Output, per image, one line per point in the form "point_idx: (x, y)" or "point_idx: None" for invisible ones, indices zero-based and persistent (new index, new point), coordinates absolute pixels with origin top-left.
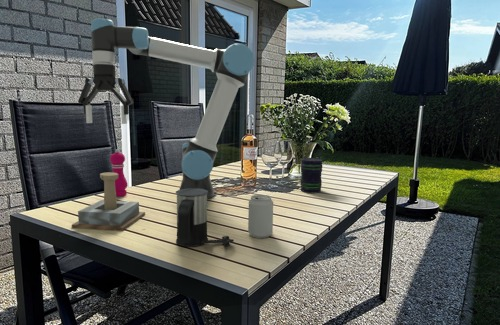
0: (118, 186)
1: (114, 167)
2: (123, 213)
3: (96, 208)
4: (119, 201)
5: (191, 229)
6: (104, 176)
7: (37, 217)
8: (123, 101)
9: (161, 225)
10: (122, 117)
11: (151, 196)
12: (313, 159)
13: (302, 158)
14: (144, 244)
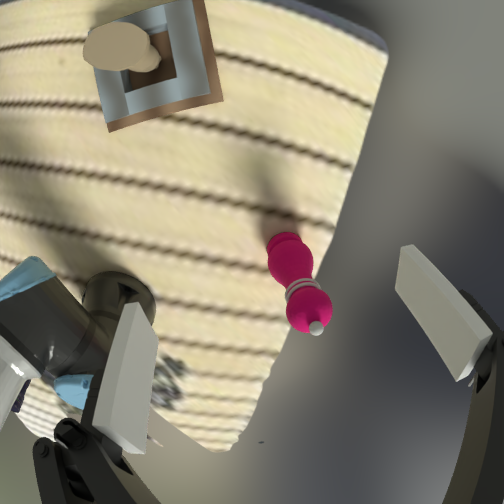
0: (278, 246)
1: (304, 279)
2: None
3: (169, 34)
4: (153, 103)
5: None
6: (113, 22)
7: (333, 33)
8: (83, 465)
9: (46, 96)
10: (120, 338)
11: (202, 265)
12: None
13: (17, 408)
14: (30, 18)
